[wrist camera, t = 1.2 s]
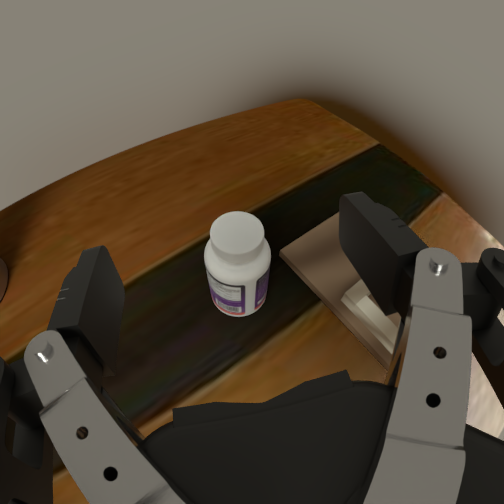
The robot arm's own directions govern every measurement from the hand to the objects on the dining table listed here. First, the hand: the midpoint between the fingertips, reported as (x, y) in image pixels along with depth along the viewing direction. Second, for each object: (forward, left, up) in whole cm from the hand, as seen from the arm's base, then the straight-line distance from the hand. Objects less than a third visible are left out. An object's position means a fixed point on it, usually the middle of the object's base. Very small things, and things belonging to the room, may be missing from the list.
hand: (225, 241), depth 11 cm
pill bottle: (-7, +5, -20) cm, 22 cm away
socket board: (+1, +17, -20) cm, 26 cm away
